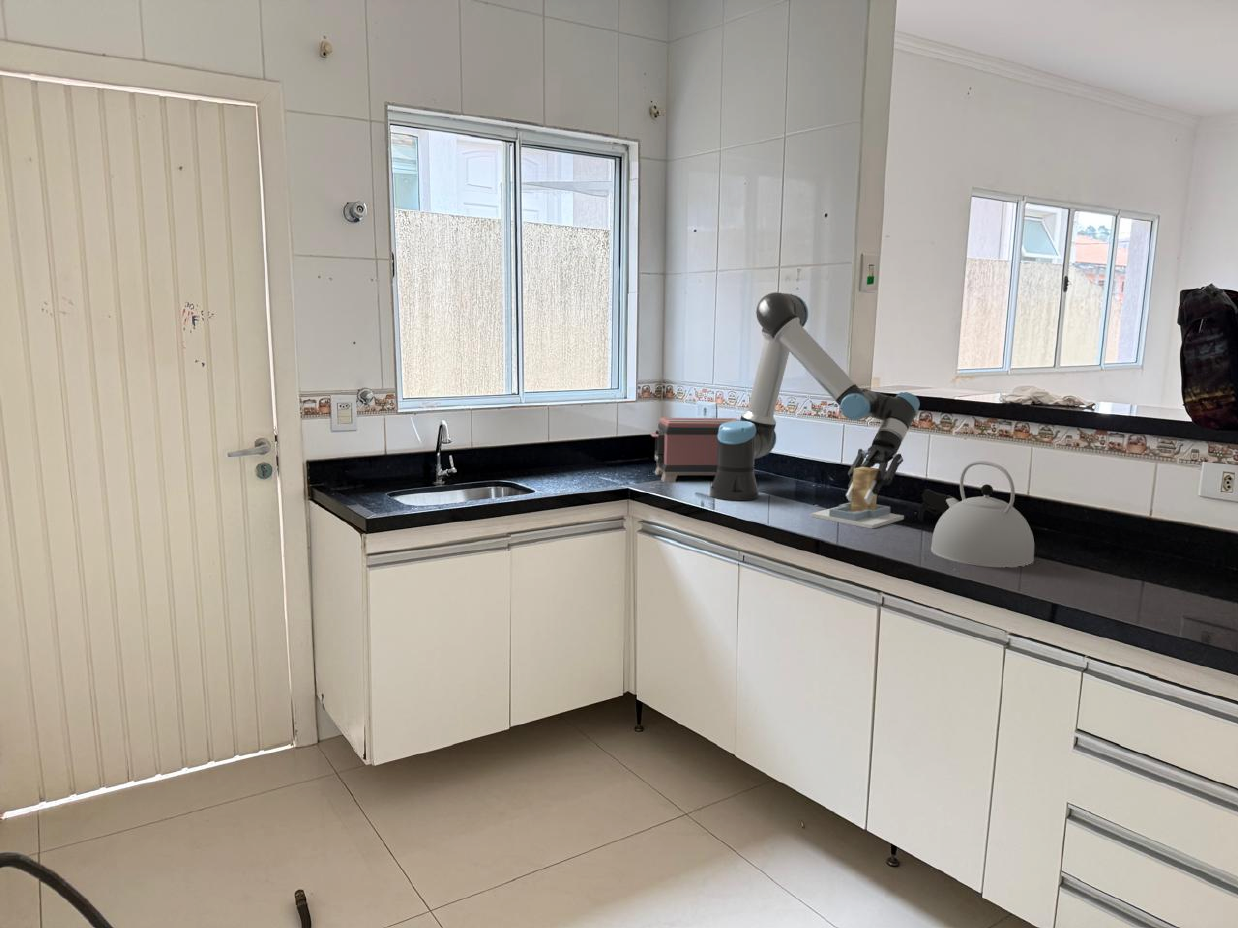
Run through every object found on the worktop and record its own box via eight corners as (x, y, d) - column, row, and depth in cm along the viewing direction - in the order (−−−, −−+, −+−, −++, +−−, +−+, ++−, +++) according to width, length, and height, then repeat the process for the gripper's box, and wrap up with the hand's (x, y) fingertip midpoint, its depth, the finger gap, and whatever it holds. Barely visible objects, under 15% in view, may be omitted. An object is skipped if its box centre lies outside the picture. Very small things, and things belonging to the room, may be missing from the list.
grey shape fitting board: (811, 516, 240) (811, 506, 239) (843, 508, 252) (844, 498, 252) (872, 528, 227) (872, 517, 226) (903, 519, 239) (904, 508, 239)
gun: (962, 544, 235) (982, 514, 232) (910, 515, 236) (929, 484, 234) (959, 542, 237) (980, 512, 235) (908, 513, 239) (928, 483, 237)
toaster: (646, 473, 310) (647, 417, 307) (736, 472, 314) (739, 418, 311) (655, 482, 291) (656, 423, 288) (751, 482, 295) (753, 423, 292)
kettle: (905, 543, 212) (912, 454, 208) (981, 538, 218) (988, 452, 215) (974, 570, 188) (982, 471, 185) (1056, 564, 195) (1066, 468, 191)
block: (851, 509, 241) (853, 468, 239) (859, 507, 245) (862, 466, 243) (867, 512, 238) (869, 470, 236) (875, 510, 241) (878, 468, 239)
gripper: (922, 449, 243) (891, 513, 234) (865, 442, 256) (833, 502, 247) (915, 432, 239) (883, 496, 230) (857, 426, 251) (824, 487, 242)
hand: (857, 499), depth 238 cm, fingers closed on block, 5 cm apart
